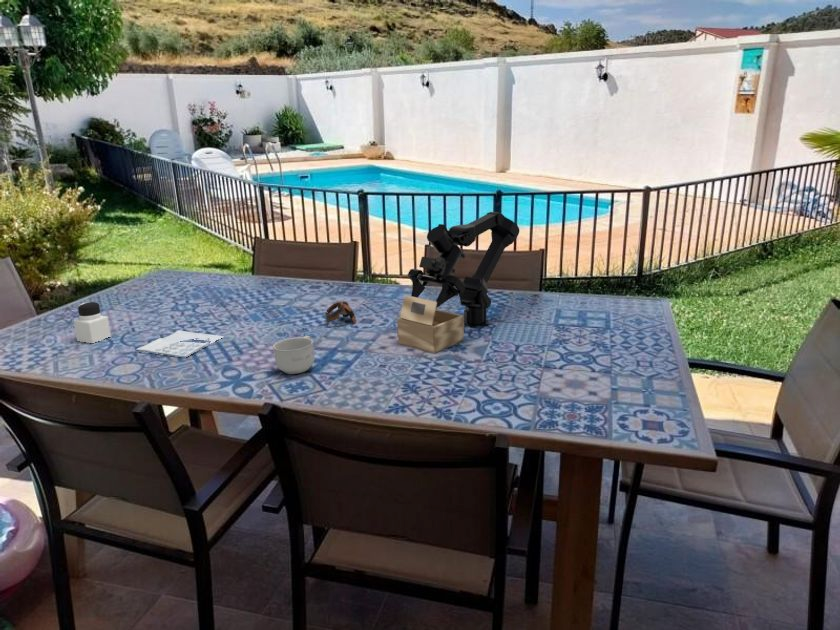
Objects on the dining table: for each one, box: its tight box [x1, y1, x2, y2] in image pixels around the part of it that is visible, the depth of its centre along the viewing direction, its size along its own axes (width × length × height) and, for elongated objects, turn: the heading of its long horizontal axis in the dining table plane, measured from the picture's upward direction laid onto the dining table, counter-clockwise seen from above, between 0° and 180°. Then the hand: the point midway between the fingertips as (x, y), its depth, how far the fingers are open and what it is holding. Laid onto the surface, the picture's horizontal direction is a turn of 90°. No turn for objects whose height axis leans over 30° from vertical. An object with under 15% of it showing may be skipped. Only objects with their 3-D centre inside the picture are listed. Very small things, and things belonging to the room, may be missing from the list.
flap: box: [399, 294, 437, 326], centre depth 186 cm, size 7×12×1 cm
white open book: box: [136, 329, 225, 358], centre depth 195 cm, size 19×20×2 cm
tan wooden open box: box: [396, 308, 465, 354], centre depth 192 cm, size 14×15×8 cm
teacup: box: [272, 335, 315, 375], centre depth 174 cm, size 14×11×8 cm
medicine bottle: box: [73, 301, 112, 344], centre depth 200 cm, size 7×7×12 cm
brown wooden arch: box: [324, 301, 357, 325], centre depth 214 cm, size 12×10×8 cm
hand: (423, 304), depth 187 cm, fingers open, 9 cm apart
